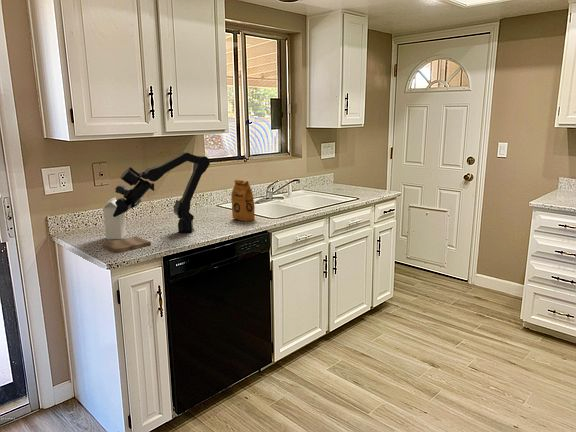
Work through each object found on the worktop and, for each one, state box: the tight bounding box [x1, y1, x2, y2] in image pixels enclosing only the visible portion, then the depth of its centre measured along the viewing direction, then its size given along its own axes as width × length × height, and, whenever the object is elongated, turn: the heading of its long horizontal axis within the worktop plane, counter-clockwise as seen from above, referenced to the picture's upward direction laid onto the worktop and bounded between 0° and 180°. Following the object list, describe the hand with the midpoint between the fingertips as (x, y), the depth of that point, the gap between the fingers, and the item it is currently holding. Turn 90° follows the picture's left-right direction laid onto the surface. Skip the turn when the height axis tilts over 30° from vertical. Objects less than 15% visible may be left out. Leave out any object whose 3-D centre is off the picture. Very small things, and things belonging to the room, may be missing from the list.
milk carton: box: [102, 196, 127, 240], centre depth 205 cm, size 7×7×19 cm
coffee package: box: [230, 179, 255, 223], centre depth 238 cm, size 10×12×22 cm
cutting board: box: [101, 235, 152, 254], centre depth 193 cm, size 16×14×2 cm
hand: (117, 214), depth 204 cm, fingers open, 9 cm apart
